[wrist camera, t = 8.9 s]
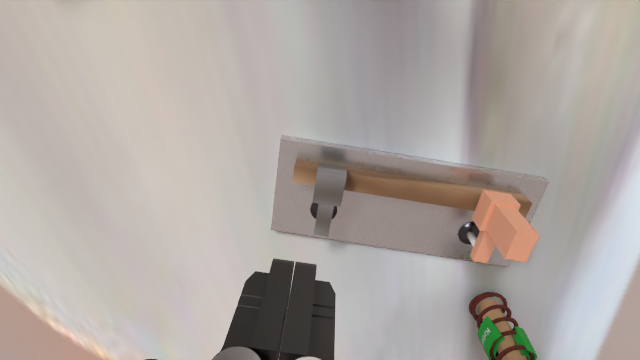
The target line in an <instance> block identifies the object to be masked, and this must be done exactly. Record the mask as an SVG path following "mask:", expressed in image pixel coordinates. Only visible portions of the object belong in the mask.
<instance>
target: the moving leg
mask: <svg viewBox="0 0 640 360" xmlns="http://www.w3.org/2000/svg"><path fill="white" fill-rule="evenodd" d="M520 206H521V205H520V204H519V203H518V201H517V200H516V199H515V198H514V197H513V196H512V195H511V194H507V193H501V192H495V191H488V190H483V191H482V194H481V196H480V199H479V201H478V204H477V206H476V209H475V212H474V214H473V217H472V219H473V221H474V223H475V224H476V226H477V227H478V229H479V230H480V232H479V235H478V237H477V238H476V237H475V235H474V233H473V232H468V233H467V237H468V239H469V241H470V242H471V244H472V246H473V249H472V252H471V254H470V256H471V258H472V260H473V261H475V262H482V263H488V261H489V258H490V256H491V254H492V251H493V249H494V247H495V245H496V246H497V248H498V249H499V251H500V253H501V254H502V256H503V257H504V259H509V260H515V261H522V262H526V261H527V259H528V257H529V255H530V253H531V251H532V249H533V247H534V245H535V243H536V241H537V239H538V237H539V234H538V233H537V232H536V231H535V230H534V228H533V227H532V226H531V225H530V224H529V223H528V221H527V220H526V219H525V218H524V217H523V216H522V215H521V213H520V212H519V208H520Z"/></svg>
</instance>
